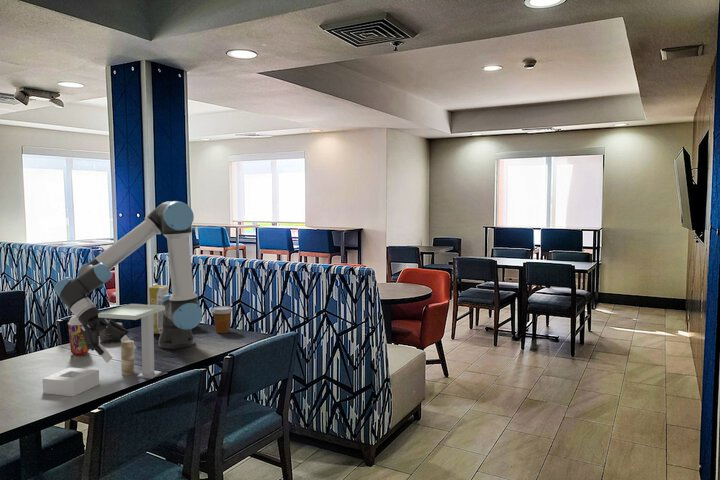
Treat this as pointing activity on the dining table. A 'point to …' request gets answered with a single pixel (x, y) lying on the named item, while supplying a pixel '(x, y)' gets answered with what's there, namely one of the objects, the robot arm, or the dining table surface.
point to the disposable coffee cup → (222, 318)
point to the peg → (127, 357)
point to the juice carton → (156, 299)
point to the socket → (70, 381)
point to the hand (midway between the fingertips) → (122, 354)
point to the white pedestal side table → (146, 331)
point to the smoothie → (76, 338)
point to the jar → (109, 337)
